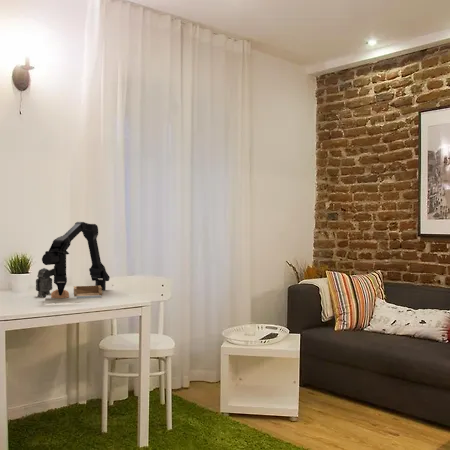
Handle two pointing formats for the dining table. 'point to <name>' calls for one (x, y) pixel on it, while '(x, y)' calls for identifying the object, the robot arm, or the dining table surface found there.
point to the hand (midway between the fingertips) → (60, 294)
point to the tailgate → (89, 296)
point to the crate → (87, 290)
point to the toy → (43, 284)
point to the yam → (56, 294)
